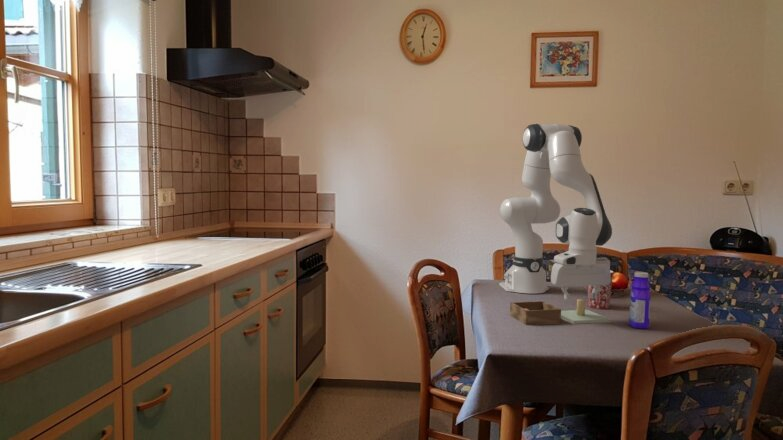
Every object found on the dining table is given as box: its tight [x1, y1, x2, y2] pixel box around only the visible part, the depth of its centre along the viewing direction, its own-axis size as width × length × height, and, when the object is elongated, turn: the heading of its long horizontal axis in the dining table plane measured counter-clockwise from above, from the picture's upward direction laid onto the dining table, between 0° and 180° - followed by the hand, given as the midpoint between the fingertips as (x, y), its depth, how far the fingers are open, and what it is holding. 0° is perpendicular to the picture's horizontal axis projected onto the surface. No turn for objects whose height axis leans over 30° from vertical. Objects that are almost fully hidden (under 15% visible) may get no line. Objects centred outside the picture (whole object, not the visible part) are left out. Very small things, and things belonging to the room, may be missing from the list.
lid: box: [561, 298, 611, 325], centre depth 185 cm, size 13×13×6 cm
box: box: [509, 300, 562, 326], centre depth 182 cm, size 12×12×5 cm
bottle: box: [628, 271, 652, 329], centre depth 176 cm, size 7×6×17 cm
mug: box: [587, 269, 615, 310], centre depth 205 cm, size 13×9×14 cm
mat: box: [561, 318, 613, 325], centre depth 185 cm, size 14×14×1 cm
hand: (580, 298), depth 185 cm, fingers open, 8 cm apart
